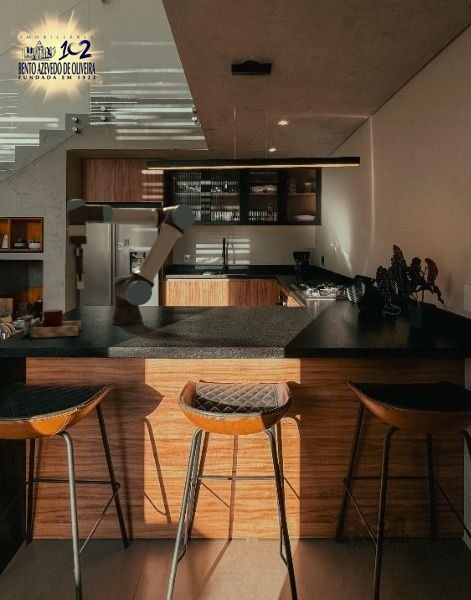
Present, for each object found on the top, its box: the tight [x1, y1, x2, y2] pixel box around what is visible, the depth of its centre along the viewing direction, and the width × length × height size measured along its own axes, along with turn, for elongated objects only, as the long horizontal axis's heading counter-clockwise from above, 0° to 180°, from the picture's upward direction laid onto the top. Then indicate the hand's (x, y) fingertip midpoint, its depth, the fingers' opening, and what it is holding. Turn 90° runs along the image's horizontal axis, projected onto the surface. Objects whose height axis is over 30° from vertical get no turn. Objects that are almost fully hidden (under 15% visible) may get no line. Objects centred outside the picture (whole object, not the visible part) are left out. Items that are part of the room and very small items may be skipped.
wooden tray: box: [29, 317, 82, 338], centre depth 219 cm, size 19×16×6 cm
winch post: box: [21, 315, 34, 336], centre depth 216 cm, size 4×4×8 cm
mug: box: [42, 308, 64, 327], centre depth 219 cm, size 10×8×10 cm
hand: (80, 288), depth 220 cm, fingers closed
